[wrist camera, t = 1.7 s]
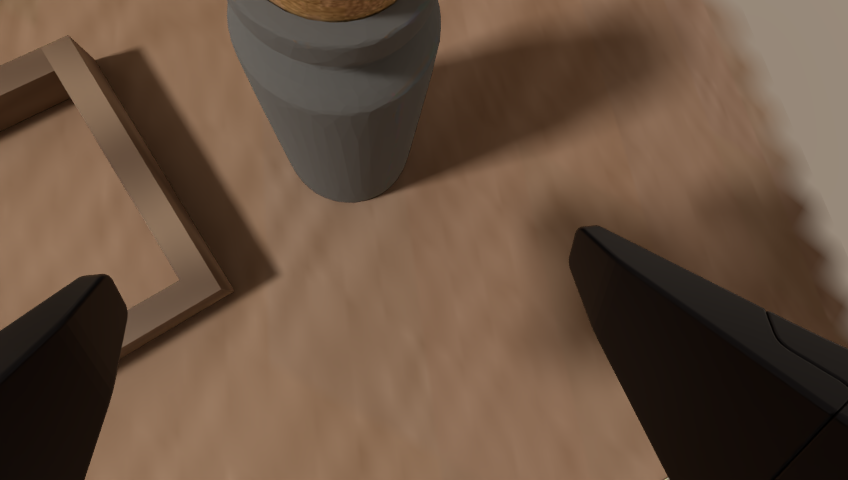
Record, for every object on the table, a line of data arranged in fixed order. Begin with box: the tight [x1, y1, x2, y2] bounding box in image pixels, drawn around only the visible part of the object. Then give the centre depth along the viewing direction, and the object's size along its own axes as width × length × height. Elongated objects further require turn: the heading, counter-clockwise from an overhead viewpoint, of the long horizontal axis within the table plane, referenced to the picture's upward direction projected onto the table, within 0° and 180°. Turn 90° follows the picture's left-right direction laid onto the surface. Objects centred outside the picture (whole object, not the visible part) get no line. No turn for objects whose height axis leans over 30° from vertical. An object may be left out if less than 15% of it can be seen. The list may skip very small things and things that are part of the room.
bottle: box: [227, 0, 441, 203], centre depth 16 cm, size 6×6×15 cm
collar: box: [0, 35, 234, 359], centre depth 20 cm, size 13×13×2 cm
